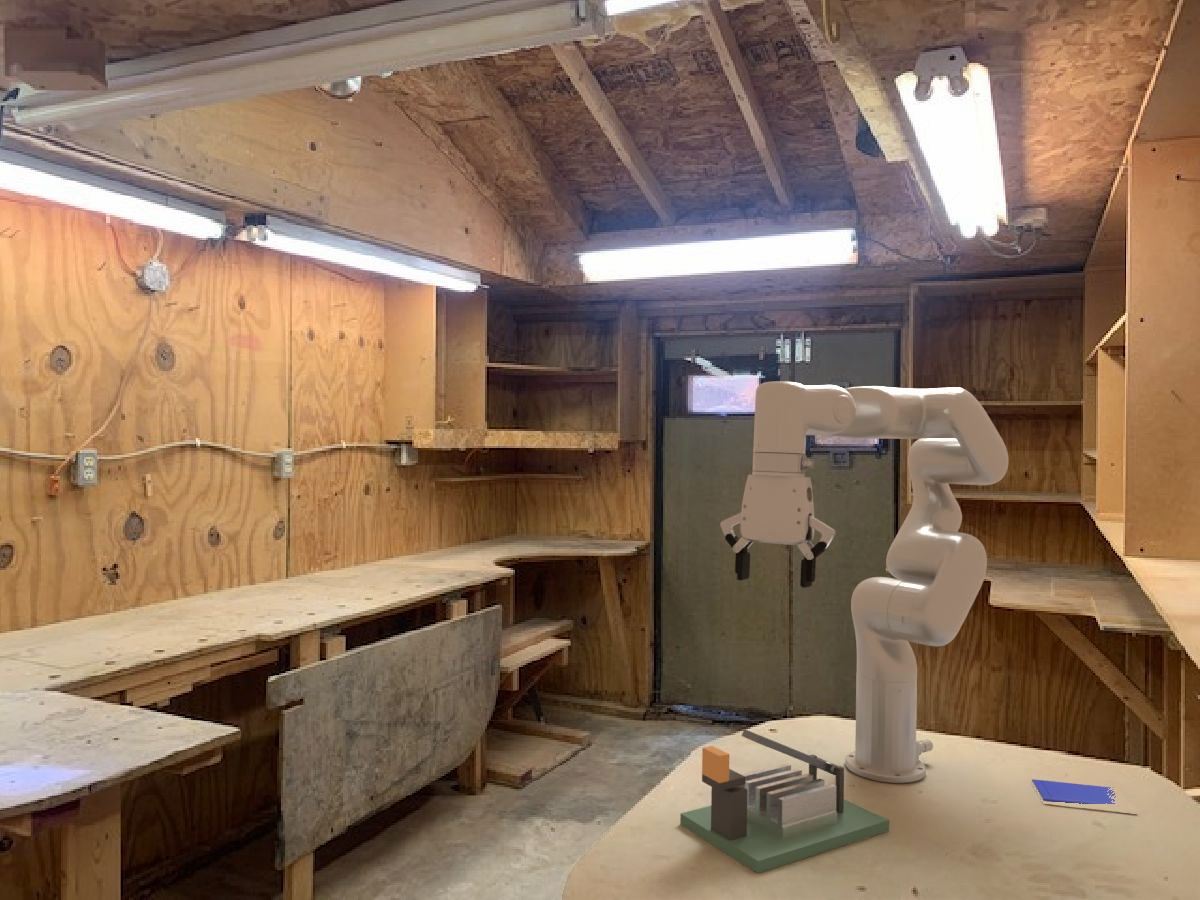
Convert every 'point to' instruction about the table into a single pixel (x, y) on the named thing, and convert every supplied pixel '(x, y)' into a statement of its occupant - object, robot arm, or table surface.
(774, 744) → the strap
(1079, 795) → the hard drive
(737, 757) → the table surface
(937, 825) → the table surface
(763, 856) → the board
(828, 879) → the table surface
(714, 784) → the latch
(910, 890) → the table surface
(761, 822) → the heat sink
